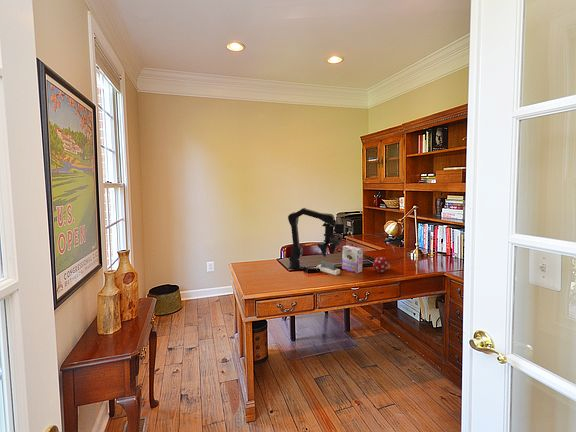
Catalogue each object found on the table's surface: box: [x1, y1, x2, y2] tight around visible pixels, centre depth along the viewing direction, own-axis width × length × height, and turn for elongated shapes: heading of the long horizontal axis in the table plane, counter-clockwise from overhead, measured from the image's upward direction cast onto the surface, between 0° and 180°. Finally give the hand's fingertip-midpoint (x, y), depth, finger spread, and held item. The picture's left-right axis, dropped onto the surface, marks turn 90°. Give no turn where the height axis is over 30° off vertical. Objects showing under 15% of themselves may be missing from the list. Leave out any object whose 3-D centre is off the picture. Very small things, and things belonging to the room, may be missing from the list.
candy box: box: [341, 244, 364, 274], centre depth 223 cm, size 14×6×16 cm, turn 41°
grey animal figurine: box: [320, 260, 337, 270], centre depth 221 cm, size 11×3×6 cm, turn 48°
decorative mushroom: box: [372, 256, 391, 274], centre depth 223 cm, size 11×11×15 cm
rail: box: [316, 264, 341, 276], centre depth 221 cm, size 16×5×3 cm, turn 48°
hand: (328, 255), depth 219 cm, fingers open, 9 cm apart
